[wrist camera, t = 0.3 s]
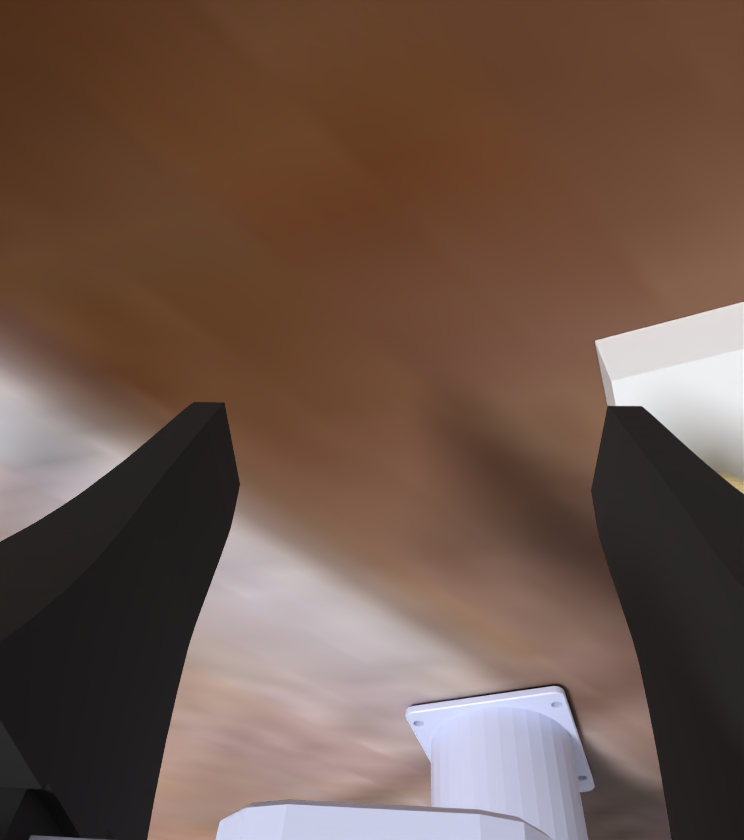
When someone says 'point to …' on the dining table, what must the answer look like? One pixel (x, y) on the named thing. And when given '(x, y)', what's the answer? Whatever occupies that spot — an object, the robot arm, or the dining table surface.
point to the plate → (685, 381)
